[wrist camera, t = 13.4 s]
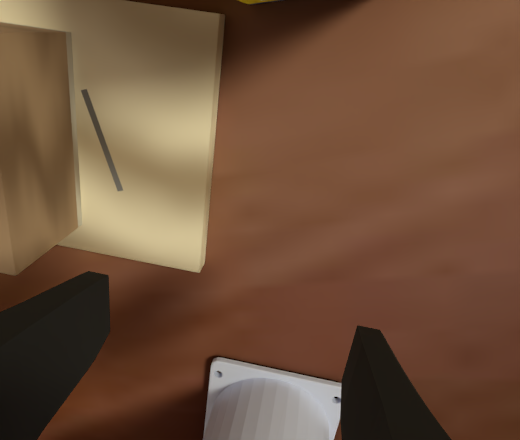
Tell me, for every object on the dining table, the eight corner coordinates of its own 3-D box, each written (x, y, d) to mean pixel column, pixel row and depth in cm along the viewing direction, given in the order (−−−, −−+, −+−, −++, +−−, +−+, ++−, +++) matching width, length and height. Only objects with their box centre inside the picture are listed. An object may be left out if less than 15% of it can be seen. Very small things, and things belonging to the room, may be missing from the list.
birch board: (204, 263, 22) (199, 272, 21) (-85, 206, 24) (-102, 213, 23) (225, 14, 17) (219, 13, 16) (-145, -38, 19) (-169, -42, 18)
